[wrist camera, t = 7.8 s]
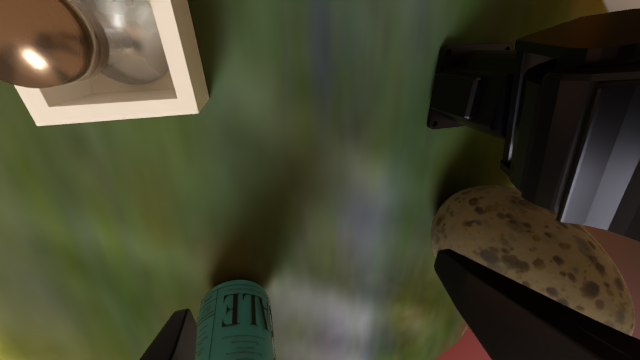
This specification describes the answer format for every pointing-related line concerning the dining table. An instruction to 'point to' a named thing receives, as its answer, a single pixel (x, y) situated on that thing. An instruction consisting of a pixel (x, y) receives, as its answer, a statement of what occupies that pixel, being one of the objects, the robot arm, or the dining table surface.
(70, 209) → the dining table surface
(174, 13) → the square box with handle
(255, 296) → the beverage bottle
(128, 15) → the brown stemmed glass
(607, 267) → the decorative egg
